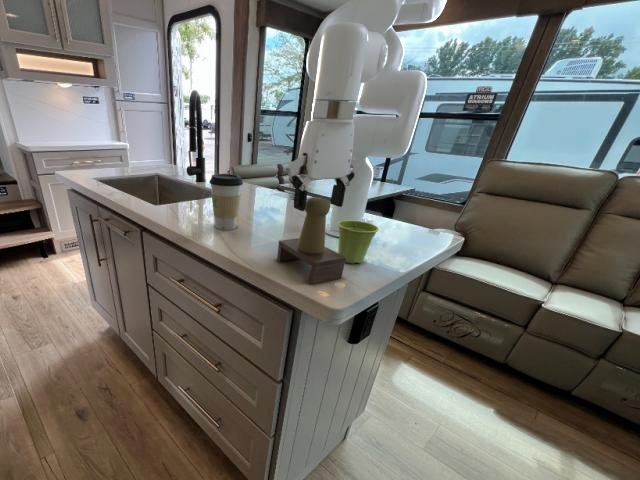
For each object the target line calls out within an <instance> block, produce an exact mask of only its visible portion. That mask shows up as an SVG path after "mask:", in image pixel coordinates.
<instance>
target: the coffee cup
mask: <svg viewBox="0 0 640 480" xmlns="http://www.w3.org/2000/svg"><path fill="white" fill-rule="evenodd" d="M209 184H210V190H211V192H210V193H211V194H210V195H211V201H212V202H211V203H212V213H213V217H214V224H215V225H214V226H215V229H218V230H223V231H231V230H234V229H236V225H237V218H238V213H239V208H240V200H241V195H242V194H241V192H242V191H241V190H242V185H243V184H244V182H243V180H242V176H241V175H239V174H232V173H215V174H212V175H211V177H210V179H209Z"/></svg>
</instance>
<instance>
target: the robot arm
mask: <svg viewBox="0 0 640 480" xmlns="http://www.w3.org/2000/svg"><path fill="white" fill-rule="evenodd" d="M446 3H447V0H349V1H346V2H345V3H344V4H342V5H341V6H339V7H337V8H336V9H335V10H333V11H332V12H331V13H329V14H328V15H327V16H326V17H325V18H324V19H323V21H322V22H321V23H320V25H319V27H318V28H317V31H316V32H315V34H314V36H313V37H312V40H311V43H310V45H309V48H308V51H307V55H306V72H307V75H308V77H309V79H310V80H311V81H312V82H315V85H314V86H315V87H314V94H313V95H314V96H313V103H312V109H311V110H312V111H311V117H310V118H311V119H310V120H307V121H306V123H305V127H304V130H303V134H302V137H301V141H300V146H299V150H298V156H297V158H296V159H295V160H293V161H291V162H289V164H287V165H286V168H285V170H286V173H287V176H288V181H289V182H290V183H291V185H292V188H293V189H294V196H293V208H294V209H296V210H298V211H300V212H304V211H305V207H306V201H307V200H308V193H309V192H308V190H306V189H307V187H309V185H310V183H311V182H312V181H321V180H334V182H335V184H333V186H332V191H331V196H330V201H329V202H330V205H332V207H331V213H330V218H329V223H326V226H325V234H327V235H329V236H332V237H336V238H339V226H338V222H340V221H345V220H352V221H361V222H366V223H370V224H374V221H373V219H372V218H364V216H365V213H366V208H367V203H368V200H369V196H370V192H371V191H370V190H371V187H372V182H373V178H374V169H373V166H372V164H371V163H370V160H369V158H371V157H372V158H373V157H375V158H387V159H399V158H402V157H403V156H405V155H406V154H407V152H408V150H409V148H410V146H411V143H412V140H413V137H414V134H415V129H416V126H417V123H418V119H419V116H420V113H421V110H422V106H423V102H424V100H425V96H426V91H427V82H428V81H427V75H426V73H425V72H423V71H422V70H417V69H401V67H402V63H403V60H404V56H405V47H404V44H403V41H402V40H401V37H400V36H399V34H398V33H397V32H396V30H395V29H394V27H393V26H401V25H414V24H426V23H432V22H433V21H435V20H437V18H438V17H439V16H440V15H441V14H442V12H443V10H444V9H445V5H446ZM358 109H359V110H360V111H361V112H362V113H366V114H377V115H357V116H356V114H357V113H358ZM379 114H380V115H379ZM383 115H397V116H383ZM368 157H369V158H368Z"/></svg>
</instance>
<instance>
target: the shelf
mask: <svg viewBox="0 0 640 480" xmlns="http://www.w3.org/2000/svg"><path fill="white" fill-rule="evenodd" d="M299 238H300V237H297V238H289V239H282V240H278V246H277V255H276V256H277V257H276V261H277V262H279V263H281V262H288V261H294V260H295V261H296V260H301V261H303V262H304V263H305V264H308V265H309V266H310V273H309V279H308V283H309V284H310V285H318V284H323V283H326V282H332V281H337V280H341V279H342V277H343V273H344V268H345V264H346V262H345V260H346V257H344V256H342V255H340V254H338V252H336V251H334V250H332V249H330V248H328V247H326V246H325V248H324V252H322V253H307V252H303V251H301V250H299V249H298V248H297V246H298V242H299Z"/></svg>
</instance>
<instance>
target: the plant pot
mask: <svg viewBox="0 0 640 480" xmlns="http://www.w3.org/2000/svg"><path fill="white" fill-rule="evenodd" d="M338 226H339V237H338V247H337V248H338V249H337V253H338V254H340V255H342V256H344V257H346V260H345V263H348V264H355V263H357V264H361V263H363V261H364V259H365V257H366V255H367V253H368V251H369V248H370V246H371V243H372V240H373V238H374V237H375V235H376V233H377V232H379V231H380V227H379V226H377V225H375V224H374V223H372V224H370V223H366V222H361V221H352V220H345V221H340V222H338Z"/></svg>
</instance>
